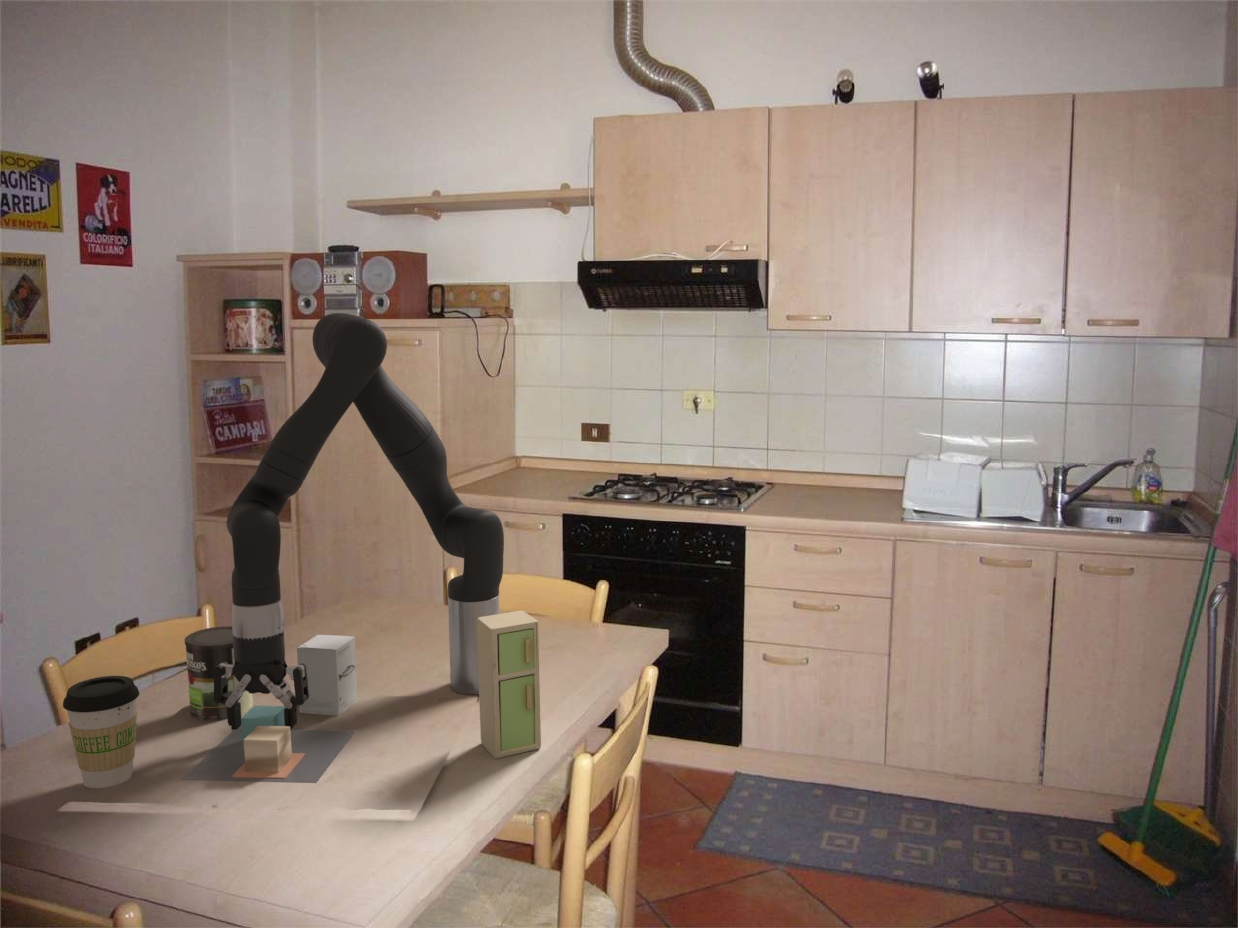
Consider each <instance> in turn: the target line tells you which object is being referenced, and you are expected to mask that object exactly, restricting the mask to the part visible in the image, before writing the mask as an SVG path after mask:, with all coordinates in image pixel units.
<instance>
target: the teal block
mask: <svg viewBox="0 0 1238 928" xmlns="http://www.w3.org/2000/svg"><path fill="white" fill-rule="evenodd" d="M285 708H286V707H285V706H284V705H253V706H252V708H251V709H250V710H249V711H247V712H245V713H244V714H243V716H241V728H242V741H243V749H244V739H245V738H246V737H247V736H248V735H249V734H250V733H251V732H252V731H253V730H254V729H255V728H256V727H257V726H285V725H284V709H285Z"/></svg>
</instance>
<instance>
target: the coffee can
mask: <svg viewBox="0 0 1238 928" xmlns="http://www.w3.org/2000/svg"><path fill="white" fill-rule="evenodd" d="M232 633H233V632H232V625H231V626H230V625H229V626H228V625H226V626H225V625H224V626H213V627H209V628H203V629H199V630H196V631H194V632H191V633H190V634H188V635H186V636H185V637H184V645H185V652H186V668H187V669H186V670H187V680H188V681H187V682H188V695H189V698H188V699H189V711H190V712H189V713H190V716H191V717H192V718H193V719H197V720H200V721H220V720H221V721H222V720H228V718H227V717H228V716H227V707H226V705H225V704H222V703H215V702H214V668H215V667H216V666H218V665H219V664H220V663H222V662H224V661H225V662H227V663H228V665H234V663H235V660H234V652H233V634H232ZM238 684H239V681H238V680H237V679H236V678H235V676H234V675H233V673H231V676H230V677H228V693H229V694H232V692H233V691H234V689H235V688H236V686H237V685H238ZM238 703H241V715H245V714H246V713H247V712H248V711H249V710H250V709H252V708H253V707H254V699H253V694H251V693H249V692H248V691H246V692H245V693H244V694H243V695H242V697H241V698H240V699H239V701H238Z"/></svg>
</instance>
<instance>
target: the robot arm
mask: <svg viewBox="0 0 1238 928" xmlns="http://www.w3.org/2000/svg"><path fill="white" fill-rule="evenodd" d="M386 337H387V335H386V334H385V332H384V330H383V329H382V328H381V326H380V325H379V324H378V323H376V322H375V321H373V320H370V319H368V318H365V317H361V316H358V315H354V314H350V313H343V312H336V313H335V312H334V313H333V312H332V313H329V314H326V315H325V316H323V317H321V318H320V319H319V320H318V321H317V323H316V324H315V326H314V329H313V333H312V346H313V351H314V353H315V355H316V358H317V359H318V360H319V362H320V363H321V365H323V367H324V372H323V374H322V375H321V378H320V379H319V381H318V382H317V385H316V386H315V388H314V389H313V391H312V392H311V393H310V394H309V396H308V397H307V399H306V400H305V401H304V402H303V403H302V404H301V405H300V406H299V407H298V408H297V409H296V411H294V412H293V413H292V414H291V415H290V417H288V418H287V420H285V421H284V423H283V424H282V425H281V427H279V429H278V431H277V432H276V433H275V435H274V436H273V438H272V440H271V442H270V444H269V446H268V448H267V449H266V451H265V453H264V454H263V456H262V458H261V460H260V461H259V464H258V466H257V468H256V471H255V473H254V474H253V476H251V478H250V479H249V481H247V483H246V485H245V486H244V487H243V488H242V490H241V491H240V493H239V495H238V496H237V497H236V499H235V501H234V502H233V504H232V506H231V508H230V510H229V512H228V514H227V518H226V528H227V531H228V533H229V535H230V537H231V541H232V550H233V551H232V553H233V554H232V555H233V566H234V568H233V570H232V572H231V593H232V594H231V595H232V610H231V626H232V632H233V633H232V634H233V652H234V660H235V663H234V665H228V663H227V662H225V661H224V662H222V663H220V664H219V665H218V666H216V667H215V668H214V702H215V703H222V704H225V705H226V707H227V716H228V717H227V718H228V719H227V724H228V726H229V727H230V728H231V730H232V731H234V730H237V729H238V728H241V727H242V725H241V718H242V714H241V703H238V701H239V699H240V698H241V697H242V695H243V694H244V693H245V692H246V691H248V692H249V693H251V694H252V695H253V694H257V693H260V694H264V695H269V694H272V695H273V696H274V698H275V699H276V700H279V701H280V702H281V704H282V706H285V709H284V725H285V726H290V731H291V730H292V729H294V727H295V726H296V725H297V724H298V706H300V705H302V704H303V703H304V702H305V701H306V700H307V699H308V698H309V690H308V680H307V671H306V665H305V664H303V663H301V664H299V665H298V664H297V665H288V664H287V662H286V644H285V619H284V609H283V605H282V598H281V595H282V594H281V577H280V571H279V569H280V568H279V567H280V558H281V544H282V543H281V542H282V540H281V539H282V537H281V533H282V532H281V525H280V521H279V518H278V517H279V515H280V514H281V512H282V510H283V508H285V505H286V504H287V502H288V500H289V498H291V497H293V496H294V495H296V494H297V493H298V491H299V490H300V488H301V487H302V485H303V484H304V481H305V480H306V478H307V477H308V475H309V473H310V470H311V469H312V467H313V465H314V463H315V461H316V459H317V458H318V455H319V453H320V452H321V450H322V448H323V447H324V445H325V443H326V442H327V440H328V439H329V437H330V435H331V434H332V432H333V430H334V429H335V428H336V426H337V425H338V423H339V421H341V420H342V418H343V417H344V415H345V414H346V412H347V411H348V409H349V408H350V406H352V404H354V405H355V407H356V410H357V411H358V412H359V414H360V417H361V418H362V420H363V422H364V423H365V425H366V426H367V428H368V430H369V431H370V433H371V435H372V436H373V438H374V439H375V441H376V442H377V444H378V446H379V447H380V450H381V451H382V452H383V455H384V456H385V457H386V459H387V460H388V462H389V463H390V464H391V466H392V467H393V469H394V470H395V471H396V473H397V474H398V476H399V477H400V479H401V480H402V482H403V483H404V486H406V488H407V489H408V491H409V492H410V494H411V496H412V497H413V499H414V500H415V502H416V503H417V505H418V506H419V508H420V510H421V511H422V514H423V516H424V518H425V519H426V521H427V524H428V525H429V528H430V529H431V531H432V535H433V536H434V537H435V539H436V541H437V543H438V544H439V547H441V549H443V550H444V552H446V553H447V554H449V555H450V556H453V557H457V558H462V559H463V570H462V574H461V575H457V576H454V577H452V578H451V579H449V581H448V584H447V599H448V600H447V602H448V603H447V605H448V609H447V610H448V638H449V665H450V667H449V668H450V669H449V671H450V672H449V673H450V675H449V676H450V677H449V679H450V687H451V689H452V691H454V692H456V693H460V694H465V695H479V671H478V644H477V618H479V617H484V616H490V615H496V614H500V585H501V582H502V579H503V576H504V575H503V574H504V552H505V550H504V549H505V548H504V547H505V545H504V544H505V538H504V536H505V534H504V527H503V523H502V521H501V518H500V517H499V516H498V515H497V514H496V513H495V512H493V511H490V510H487V509H482V508H481V509H480V508H476V507H475V508H474V507H469V506H467V505H465V504H464V502H462V500H461V499H460V498H459V496H458V495H457V493H456V491H454V489H453V487H452V486H451V483H450V481H449V479H448V473H447V472H448V460H447V457H448V456H447V452H446V448H445V445H444V443H443V441H442V439H441V438H440V437H439V434H438V433H437V431H436V430H435V428H434V427H433V425H432V423H431V422H430V420H429V419H428V417H427V416H426V415H425V414H424V413H423V411H422V410H421V408H419V406H418V405H416V403H414V401H413V400H412V399H411V398H410V397H409V396H408V395H406V393H405V392H404V391H403V390H402V389H400V387H399V386H398V385H396V383H395V382H394V381H393V380H392V379H391V378H390V376H389V375H388V374H387V372H386V371H385V370H384V368H383V366H382V363H383V361H384V360H385V357H386V354H387V351H388V350H387V349H388V342H387V341H388V340H387V338H386ZM231 673H233V675H234V676H235V678H236V679H237V680H238V681H239V684H238V685H237V686H236V688H235V689H234V691H233V692H232V694H229V693H228V677H230V676H231ZM287 675H288V676H289V678H290V680H292V681H293V687H294V691H293V690H292V687H291V685H290V683H288V681H287V680H286V679H285V677H286V676H287Z"/></svg>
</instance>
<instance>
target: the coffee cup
mask: <svg viewBox="0 0 1238 928" xmlns="http://www.w3.org/2000/svg"><path fill="white" fill-rule="evenodd" d="M139 696H140V690H139V688H138V686H137V685H135V682H134V680H133V679H132V678H131V677H129V676H126V675H125V676H124V675H105V676H99V677H93V678H89V679H85V680H82V681H79V682H77V683H75V684H73V685H71V686H70V687H69V688H67V690H66V695H65V697H64V698H63V701H62V702H63V703H62V707H63V709H64V710H65V711H67V717H68V720H69V723H68V726H69V730H70V735H71V739H72V743H73V748H74V751H75V756H76V759H77V765H78V768H79V769H80V774H81V777H82V782H83V786H84V787H87V788H89V789H104V788H106V789H107V788H110V787H115V786H118V785H121V784H122V783H125V782H127V781H128V780H130V779H131V778H132V777H133V772H134V758H135V755H136V753H135V752H136V739H137V738H136V734H137V717H138V716H137V714H138V712H137V710H136V708H137V698H138V697H139Z"/></svg>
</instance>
